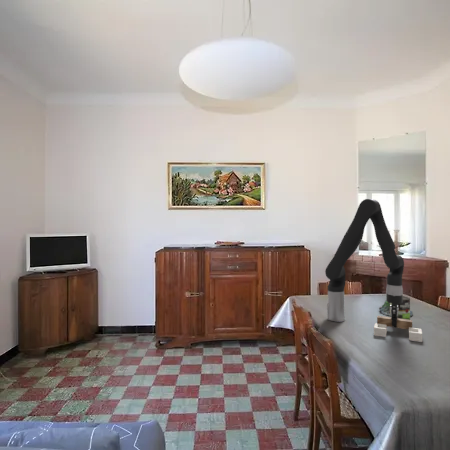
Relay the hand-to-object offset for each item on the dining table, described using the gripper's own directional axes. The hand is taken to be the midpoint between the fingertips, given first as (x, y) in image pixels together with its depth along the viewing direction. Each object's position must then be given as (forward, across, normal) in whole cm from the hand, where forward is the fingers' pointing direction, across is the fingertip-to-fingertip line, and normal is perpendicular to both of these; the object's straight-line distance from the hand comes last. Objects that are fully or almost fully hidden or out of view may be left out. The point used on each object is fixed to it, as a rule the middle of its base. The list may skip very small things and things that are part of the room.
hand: (394, 325), depth 166 cm
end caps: (+3, +7, +2) cm, 8 cm away
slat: (0, 0, 0) cm, 0 cm away
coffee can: (+3, -18, +2) cm, 18 cm away
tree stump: (+3, -38, 0) cm, 38 cm away
